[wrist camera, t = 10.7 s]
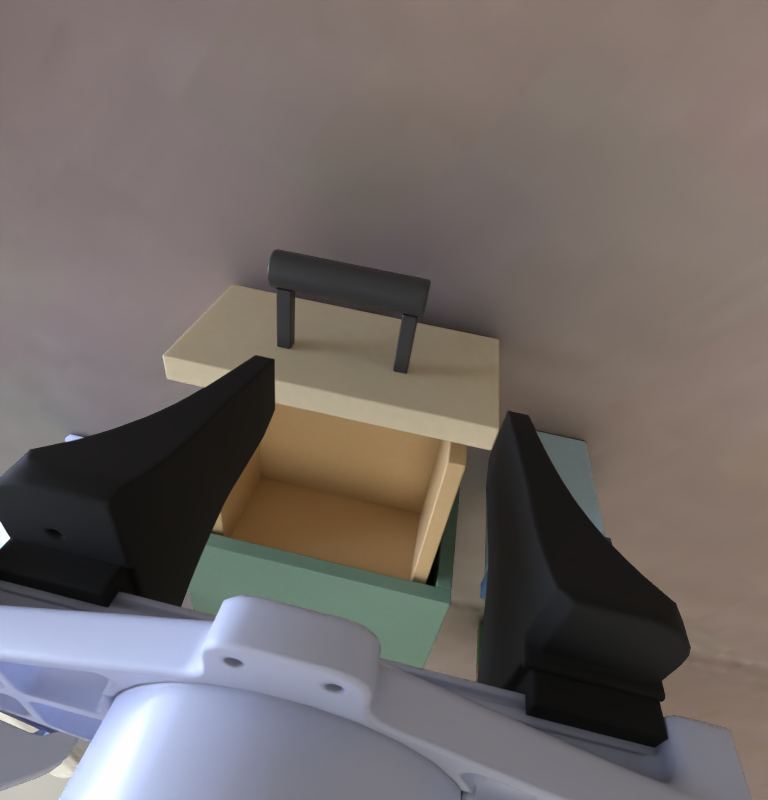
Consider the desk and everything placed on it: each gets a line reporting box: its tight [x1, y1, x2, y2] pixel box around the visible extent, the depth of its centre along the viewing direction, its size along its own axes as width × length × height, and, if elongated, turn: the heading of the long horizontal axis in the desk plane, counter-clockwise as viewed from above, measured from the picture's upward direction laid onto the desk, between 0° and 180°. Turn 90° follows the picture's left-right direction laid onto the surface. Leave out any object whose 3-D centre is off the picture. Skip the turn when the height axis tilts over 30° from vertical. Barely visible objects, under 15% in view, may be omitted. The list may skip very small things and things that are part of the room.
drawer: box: [163, 249, 499, 584], centre depth 24 cm, size 18×13×7 cm
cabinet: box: [188, 485, 460, 669], centre depth 33 cm, size 15×15×8 cm
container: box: [481, 431, 612, 599], centre depth 26 cm, size 4×6×8 cm
